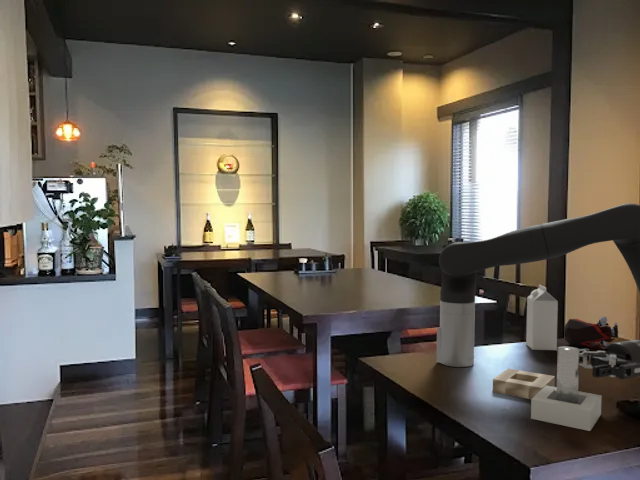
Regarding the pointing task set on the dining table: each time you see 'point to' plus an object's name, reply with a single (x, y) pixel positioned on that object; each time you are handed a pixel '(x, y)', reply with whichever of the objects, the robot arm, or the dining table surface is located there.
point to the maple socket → (521, 383)
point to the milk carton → (541, 320)
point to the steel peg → (567, 374)
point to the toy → (589, 333)
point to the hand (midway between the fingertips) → (576, 366)
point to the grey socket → (566, 409)
